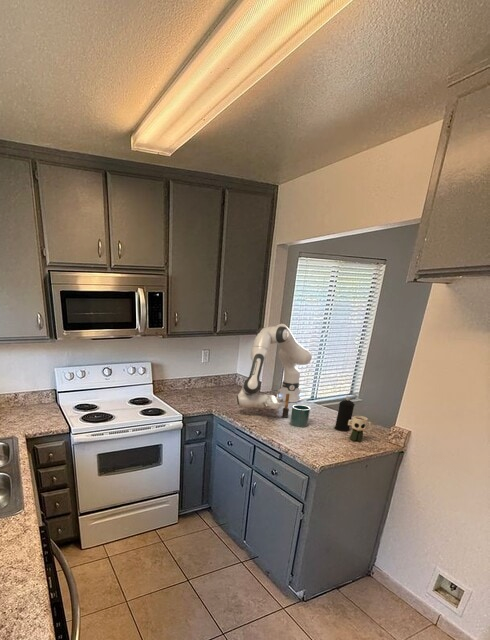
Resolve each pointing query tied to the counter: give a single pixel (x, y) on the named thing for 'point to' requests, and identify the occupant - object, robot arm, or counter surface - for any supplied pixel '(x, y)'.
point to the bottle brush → (286, 407)
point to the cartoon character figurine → (358, 427)
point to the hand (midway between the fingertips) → (283, 402)
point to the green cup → (300, 415)
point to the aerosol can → (344, 414)
